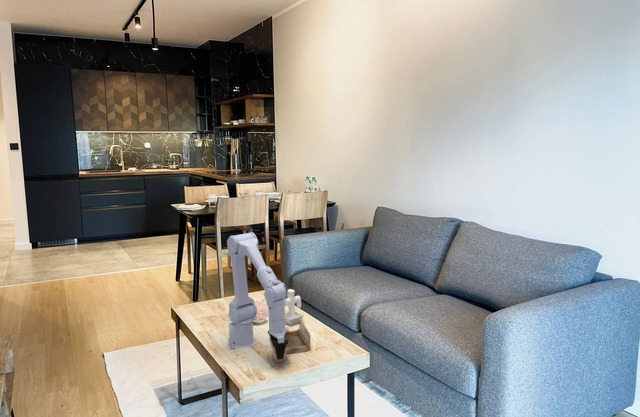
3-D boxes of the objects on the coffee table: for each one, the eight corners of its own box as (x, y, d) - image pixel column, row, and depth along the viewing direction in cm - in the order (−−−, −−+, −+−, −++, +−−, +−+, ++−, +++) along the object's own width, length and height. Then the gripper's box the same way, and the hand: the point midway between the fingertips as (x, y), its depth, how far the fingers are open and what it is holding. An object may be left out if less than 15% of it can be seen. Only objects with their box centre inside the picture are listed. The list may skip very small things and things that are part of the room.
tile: (270, 368, 171) (270, 366, 171) (267, 359, 178) (267, 357, 177) (290, 365, 173) (290, 363, 172) (286, 356, 179) (286, 355, 179)
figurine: (306, 322, 211) (304, 289, 209) (288, 328, 205) (287, 294, 203) (295, 318, 217) (294, 285, 215) (278, 324, 211) (277, 290, 209)
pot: (274, 364, 172) (273, 348, 171) (270, 358, 177) (269, 342, 176) (289, 361, 174) (288, 345, 173) (285, 355, 179) (284, 340, 178)
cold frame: (276, 357, 179) (276, 340, 178) (269, 339, 195) (268, 324, 194) (311, 352, 182) (310, 335, 181) (301, 335, 198) (300, 320, 197)
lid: (308, 352, 183) (308, 332, 182) (299, 336, 197) (299, 318, 196) (310, 351, 183) (309, 332, 182) (301, 336, 198) (300, 318, 196)
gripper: (292, 323, 167) (293, 361, 169) (284, 309, 181) (285, 344, 183) (271, 326, 165) (273, 364, 167) (265, 311, 179) (266, 347, 181)
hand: (278, 354), depth 175 cm, fingers open, 7 cm apart
